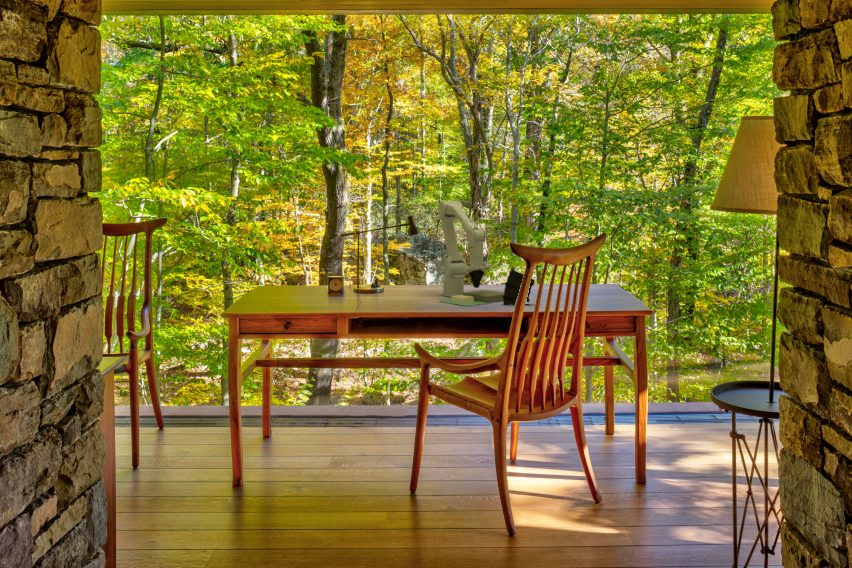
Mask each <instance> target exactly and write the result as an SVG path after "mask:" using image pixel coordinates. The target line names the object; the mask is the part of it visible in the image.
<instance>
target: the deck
mask: <svg viewBox="0 0 852 568" xmlns="http://www.w3.org/2000/svg"><path fill="white" fill-rule="evenodd" d="M463 295H465V296H472V297H474V301H479V302H485V303H487V304H493V303H492V302H494V303H498V302H499V303H501V302H504V299H503V295H504V291H502V292H501V291H496V290H488V289H482V290H481V289H480V290H472V291H464V293H463ZM500 301H501V302H500Z"/></svg>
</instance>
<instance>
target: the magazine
mask: <svg viewBox="0 0 852 568" xmlns="http://www.w3.org/2000/svg"><path fill="white" fill-rule="evenodd" d="M508 274H509V275H508V277H507V280H506V281H505V283H504V285H505V287H504V291H503V293H504V295H503V299H504V301H502V303H503V305H504V306H516V305H515V302H516V299H517V296H518V293H519V289H520V285H521V283H522V279H523V276H524V275H525V274H523V273H520V272H519V271H517V270H514V269H513V268H511V271H509V273H508ZM535 282H536V280H535V279H534V278H531V283H530V288H529V293H528V297H527V302H529V303H530V300H531V299H530V294H531V293H532V291H531V290H532V287H534V286H535ZM510 304H512V305H510Z"/></svg>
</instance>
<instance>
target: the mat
mask: <svg viewBox="0 0 852 568" xmlns="http://www.w3.org/2000/svg"><path fill="white" fill-rule="evenodd" d="M439 301H440V302H439V303H443V302H445V303H444V304H448V303H451V304H450V305H454V304H457V305H456V306H460V305H461V306H460V307H465V306H466V307H467V306H468V307H474V306H473V305H476V306H481V305H480V304H483V305H488V303H485V302H479V301H474V303H467V304H461V303H455V302H451V298H450V299H445V300H444V299H443V300H439ZM466 307H465V308H466Z"/></svg>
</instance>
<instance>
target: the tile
mask: <svg viewBox="0 0 852 568" xmlns="http://www.w3.org/2000/svg"><path fill="white" fill-rule="evenodd" d="M450 299H451V302H455V303H461V304H467V303H474V297H472V296H465V295H456V296H451V297H450Z"/></svg>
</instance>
